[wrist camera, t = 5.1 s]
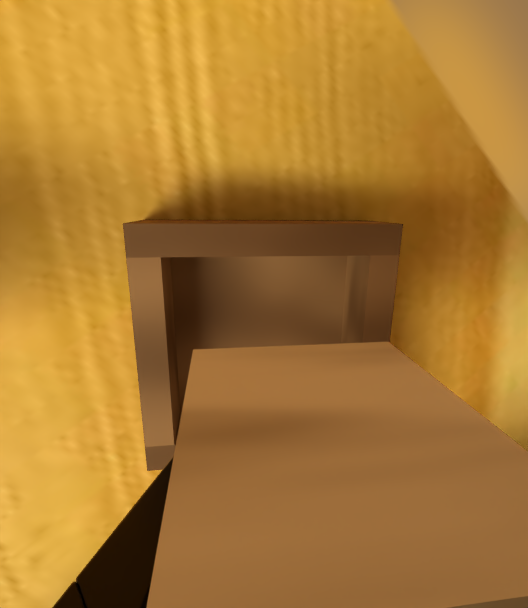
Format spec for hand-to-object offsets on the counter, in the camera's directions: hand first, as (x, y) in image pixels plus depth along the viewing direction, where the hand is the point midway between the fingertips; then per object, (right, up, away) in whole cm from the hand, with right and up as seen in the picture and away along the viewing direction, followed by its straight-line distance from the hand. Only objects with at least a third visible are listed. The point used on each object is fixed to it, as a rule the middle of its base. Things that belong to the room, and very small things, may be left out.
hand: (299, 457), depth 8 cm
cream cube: (0, 0, +1) cm, 1 cm away
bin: (-1, +3, +9) cm, 10 cm away
